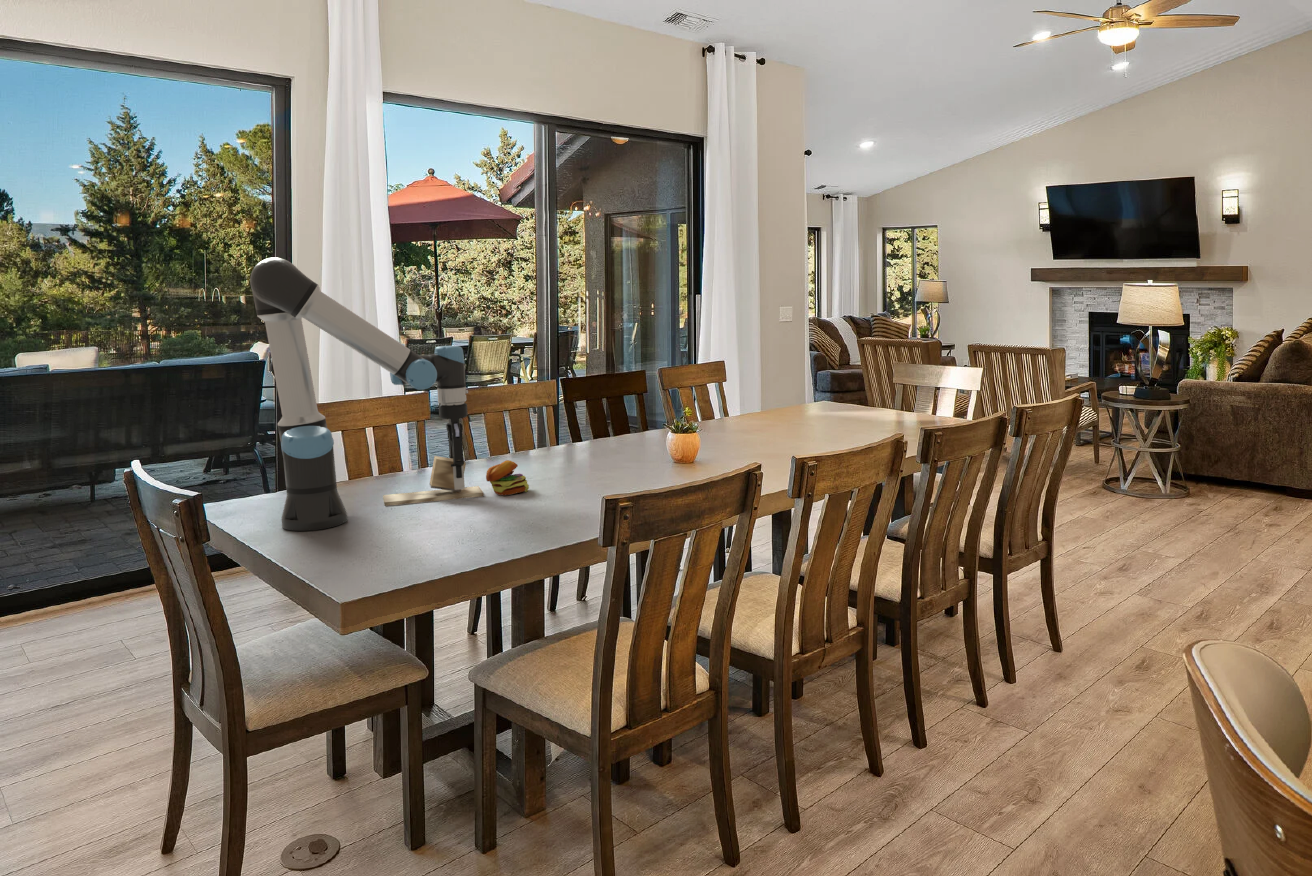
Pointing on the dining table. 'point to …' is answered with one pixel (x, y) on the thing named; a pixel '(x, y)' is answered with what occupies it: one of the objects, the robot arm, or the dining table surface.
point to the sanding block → (443, 474)
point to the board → (431, 496)
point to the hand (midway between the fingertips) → (458, 486)
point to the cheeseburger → (506, 479)
